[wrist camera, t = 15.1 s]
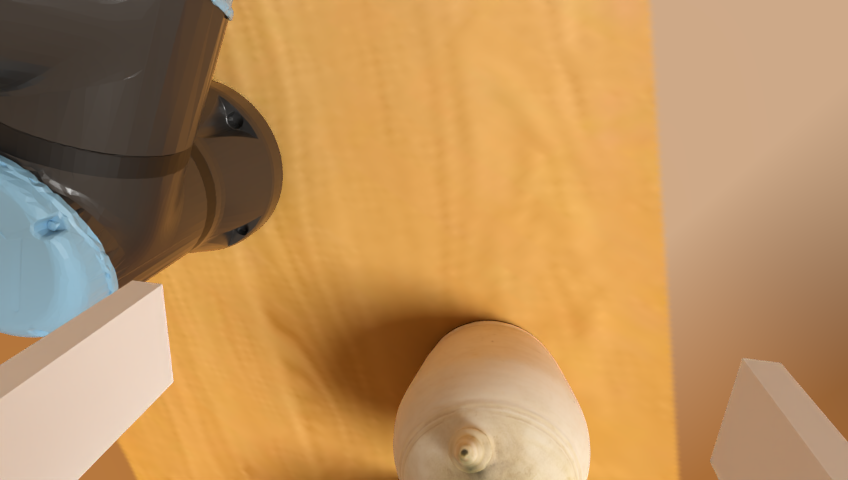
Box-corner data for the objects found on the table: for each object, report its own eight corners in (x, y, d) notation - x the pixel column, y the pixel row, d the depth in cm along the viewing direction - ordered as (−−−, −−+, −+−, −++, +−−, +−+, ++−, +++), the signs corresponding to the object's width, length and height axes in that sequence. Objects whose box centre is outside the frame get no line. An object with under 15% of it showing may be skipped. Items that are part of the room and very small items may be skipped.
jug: (561, 451, 54) (602, 757, 31) (408, 428, 56) (338, 701, 33) (588, 315, 49) (660, 562, 26) (417, 294, 51) (341, 507, 28)
